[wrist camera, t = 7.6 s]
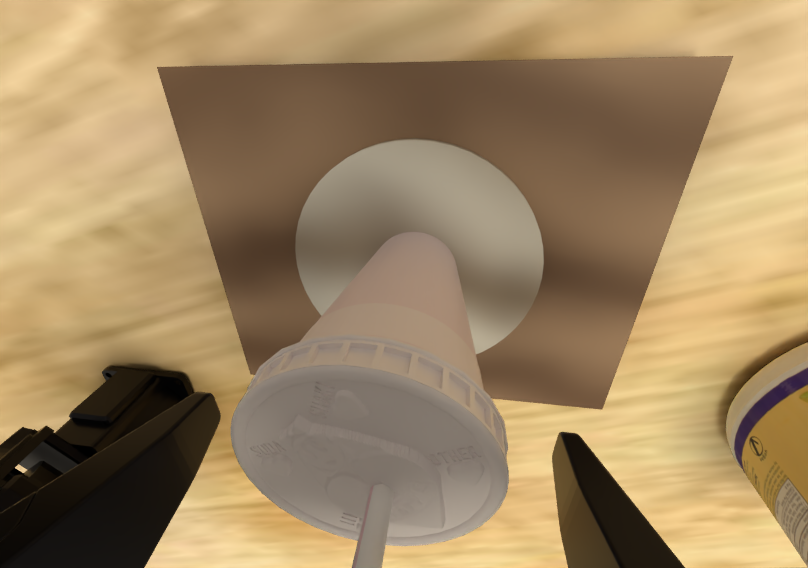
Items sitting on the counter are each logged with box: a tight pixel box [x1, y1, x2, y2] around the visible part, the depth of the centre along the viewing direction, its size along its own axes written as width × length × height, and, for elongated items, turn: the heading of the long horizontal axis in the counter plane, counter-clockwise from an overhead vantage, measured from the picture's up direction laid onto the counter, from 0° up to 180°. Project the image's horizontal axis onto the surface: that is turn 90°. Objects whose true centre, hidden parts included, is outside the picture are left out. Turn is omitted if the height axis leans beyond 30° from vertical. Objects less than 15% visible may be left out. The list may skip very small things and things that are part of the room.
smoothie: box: [231, 232, 509, 568], centre depth 11 cm, size 6×6×14 cm
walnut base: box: [157, 56, 733, 409], centre depth 18 cm, size 16×20×3 cm
